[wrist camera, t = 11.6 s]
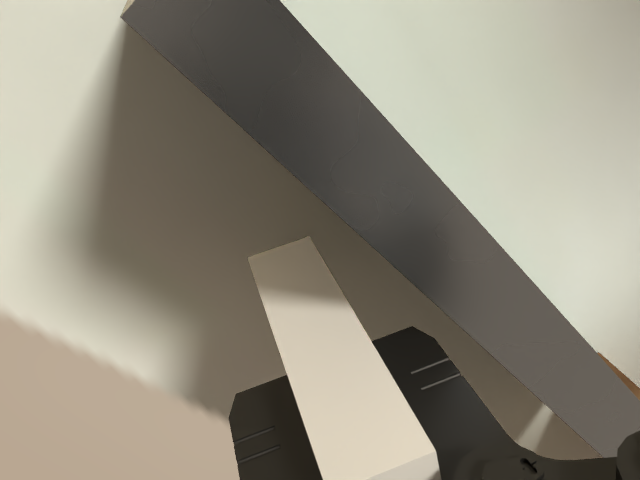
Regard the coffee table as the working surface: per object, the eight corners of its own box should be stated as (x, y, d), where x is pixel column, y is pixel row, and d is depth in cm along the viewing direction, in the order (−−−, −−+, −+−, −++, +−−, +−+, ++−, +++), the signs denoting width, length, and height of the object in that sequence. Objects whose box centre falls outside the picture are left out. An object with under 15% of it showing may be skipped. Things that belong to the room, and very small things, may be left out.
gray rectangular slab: (129, -8, 11) (109, 34, 5) (182, -69, 11) (222, -96, 5) (552, 392, 20) (722, 576, 14) (587, 363, 20) (773, 537, 14)
